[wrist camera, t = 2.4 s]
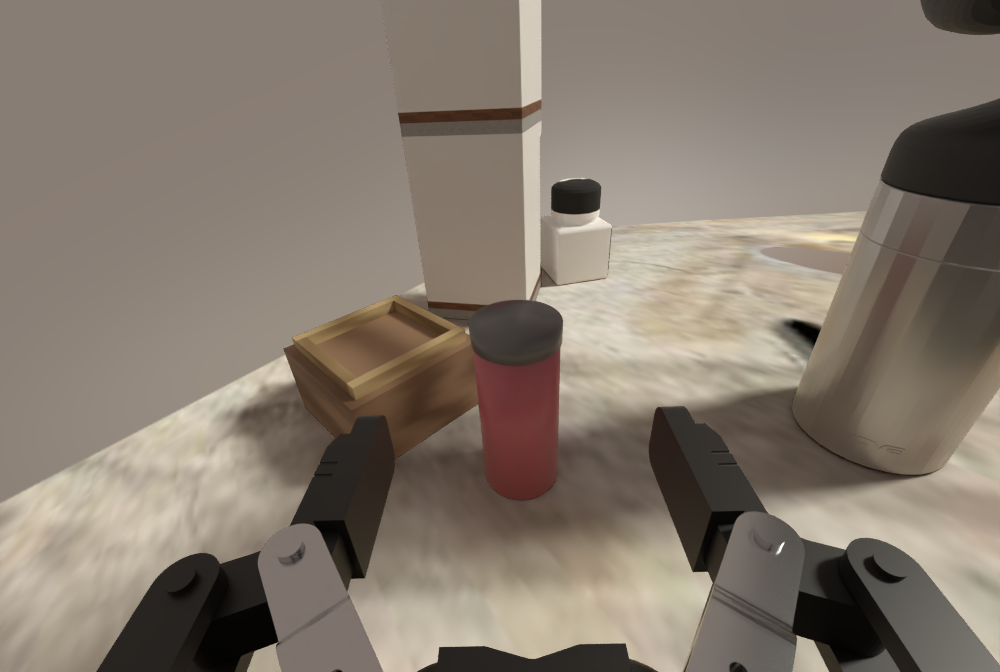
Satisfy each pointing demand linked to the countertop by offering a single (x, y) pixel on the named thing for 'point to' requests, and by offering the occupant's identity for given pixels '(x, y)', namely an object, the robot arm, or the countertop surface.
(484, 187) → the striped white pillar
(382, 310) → the wooden box
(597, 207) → the medicine bottle
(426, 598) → the countertop surface
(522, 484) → the red lidded canister
